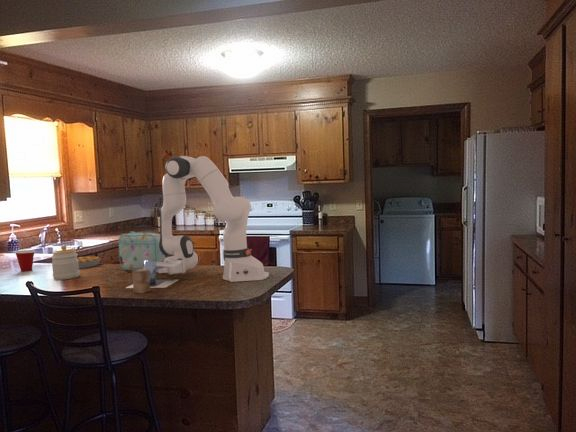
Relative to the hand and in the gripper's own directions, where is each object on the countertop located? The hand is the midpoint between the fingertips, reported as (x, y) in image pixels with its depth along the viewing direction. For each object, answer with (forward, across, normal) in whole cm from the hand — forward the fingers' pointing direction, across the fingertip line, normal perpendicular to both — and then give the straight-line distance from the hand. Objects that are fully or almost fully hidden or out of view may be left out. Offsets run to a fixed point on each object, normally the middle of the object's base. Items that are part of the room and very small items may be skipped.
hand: (151, 270), depth 220 cm
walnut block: (+11, +5, +7) cm, 14 cm away
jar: (0, -64, +7) cm, 64 cm away
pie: (-26, -87, +8) cm, 91 cm away
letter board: (-2, -2, +7) cm, 8 cm away
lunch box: (-29, -38, +7) cm, 48 cm away
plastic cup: (-6, -109, +7) cm, 110 cm away
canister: (0, -2, +6) cm, 7 cm away
